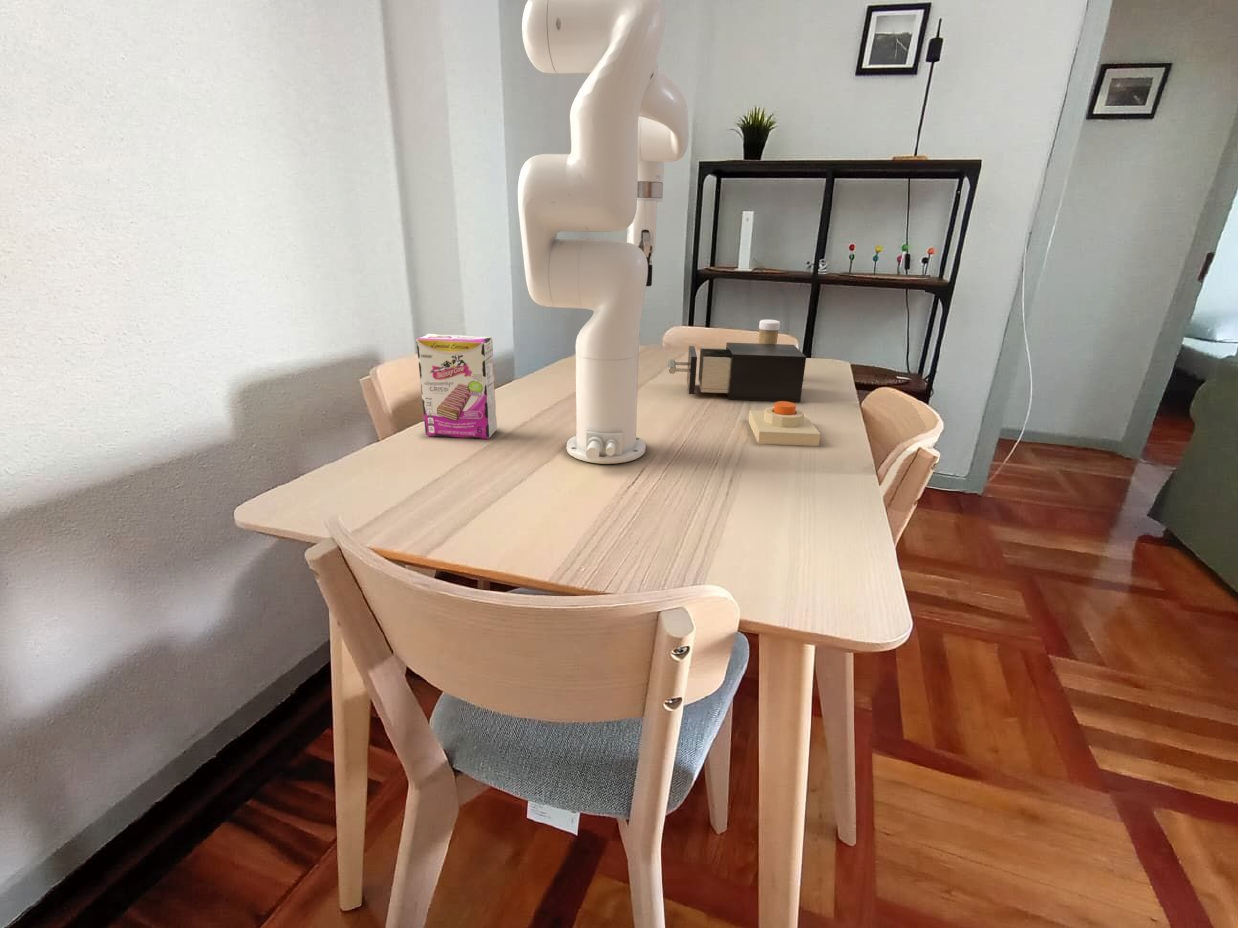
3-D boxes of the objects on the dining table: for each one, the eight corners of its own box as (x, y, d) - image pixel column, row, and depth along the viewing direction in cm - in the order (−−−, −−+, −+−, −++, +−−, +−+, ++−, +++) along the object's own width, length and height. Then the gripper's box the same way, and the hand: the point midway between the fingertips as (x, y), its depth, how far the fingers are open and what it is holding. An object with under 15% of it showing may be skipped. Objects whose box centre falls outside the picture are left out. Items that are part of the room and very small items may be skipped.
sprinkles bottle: (752, 379, 143) (758, 321, 138) (755, 375, 147) (761, 318, 142) (772, 381, 141) (779, 322, 136) (774, 377, 145) (781, 319, 140)
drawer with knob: (667, 393, 127) (669, 356, 124) (667, 379, 137) (669, 345, 134) (754, 396, 126) (758, 359, 123) (747, 382, 136) (750, 347, 133)
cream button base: (818, 446, 101) (822, 423, 100) (757, 443, 102) (760, 421, 100) (803, 423, 112) (806, 402, 111) (748, 421, 113) (750, 400, 111)
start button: (796, 417, 104) (798, 407, 103) (775, 416, 104) (776, 406, 103) (792, 411, 107) (793, 401, 107) (771, 410, 107) (773, 400, 107)
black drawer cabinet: (728, 400, 126) (732, 354, 122) (722, 385, 137) (726, 342, 134) (800, 403, 125) (806, 356, 121) (788, 387, 137) (793, 344, 133)
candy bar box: (424, 437, 102) (413, 338, 95) (435, 427, 106) (425, 333, 100) (490, 440, 101) (483, 341, 95) (498, 430, 105) (492, 335, 99)
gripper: (620, 194, 127) (619, 279, 134) (628, 191, 111) (626, 288, 118) (656, 194, 128) (653, 279, 134) (669, 192, 112) (664, 288, 119)
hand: (640, 283), depth 126 cm, fingers open, 9 cm apart
